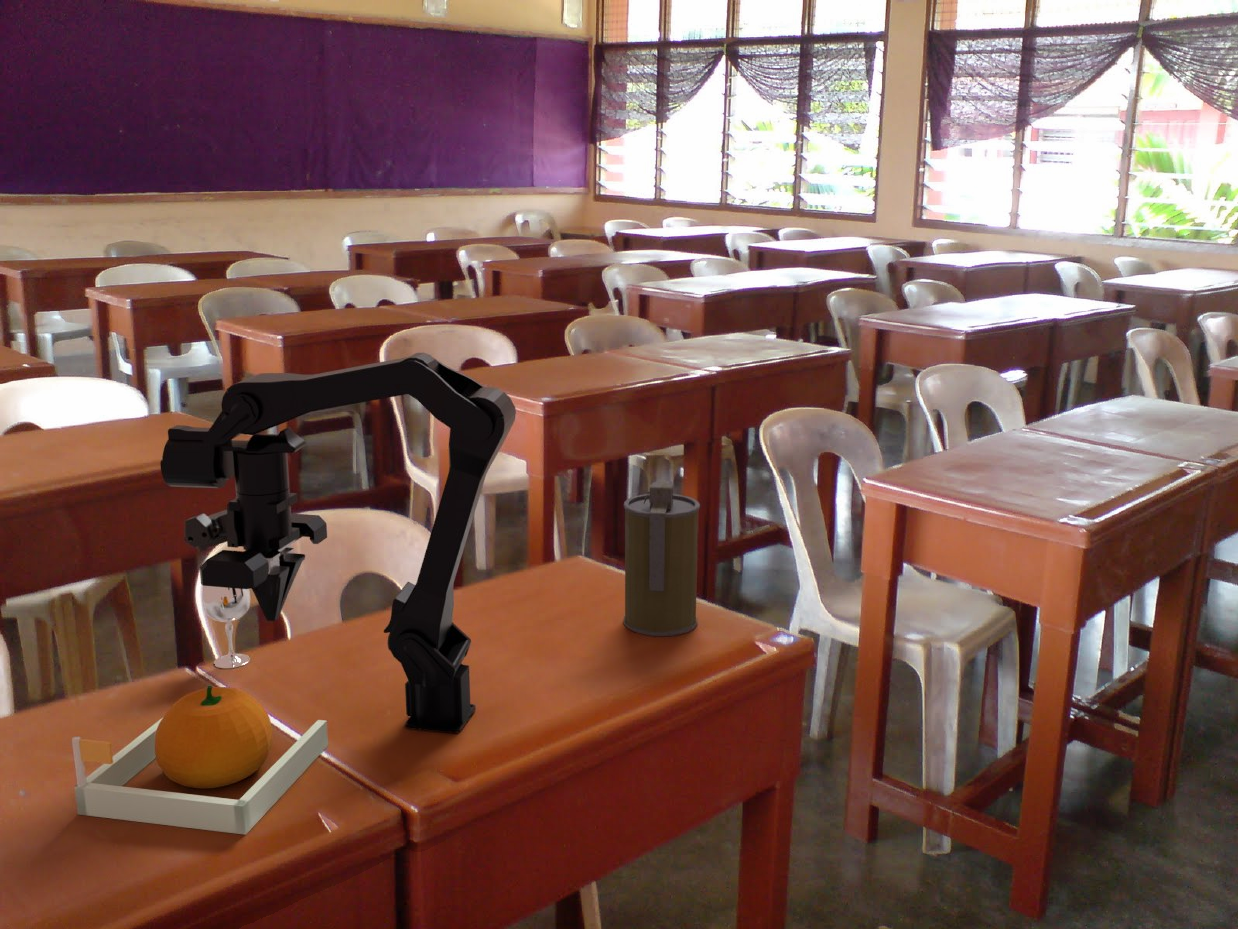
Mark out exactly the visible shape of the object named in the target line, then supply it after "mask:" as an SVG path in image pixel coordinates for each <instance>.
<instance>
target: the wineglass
mask: <svg viewBox="0 0 1238 929" xmlns="http://www.w3.org/2000/svg"><path fill="white" fill-rule="evenodd" d="M201 592H202V597H201V598H202V600H201V601H202V607H203V610H204V612H205V614H206V615H207V616H208V617H209V618H210V619H211V620H214V621H216V622H222V623H225V625H224V630H225V633H226V636H227V641H228V653H227V654H224V655H222V656H219V657H218V658H216V659H215V660H214V661H213V665H214V664H215V665H214V666H215V667H216V668H219V669H237V668H239V667H243V666H245V665H247V664H248V663H249V662H250V661H251V658H250V656H249V655H247V654H244V653H235V651H234V647H233V632H234V625H233V623H232V622H234V621H236V620H239V619H240V618H242V617H243V616H244V615H245V614H246V613H247V612H248V610H249V609H250V605H251V592H250V589H237V588H225V587H213V586H203V585H202V591H201Z"/></svg>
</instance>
